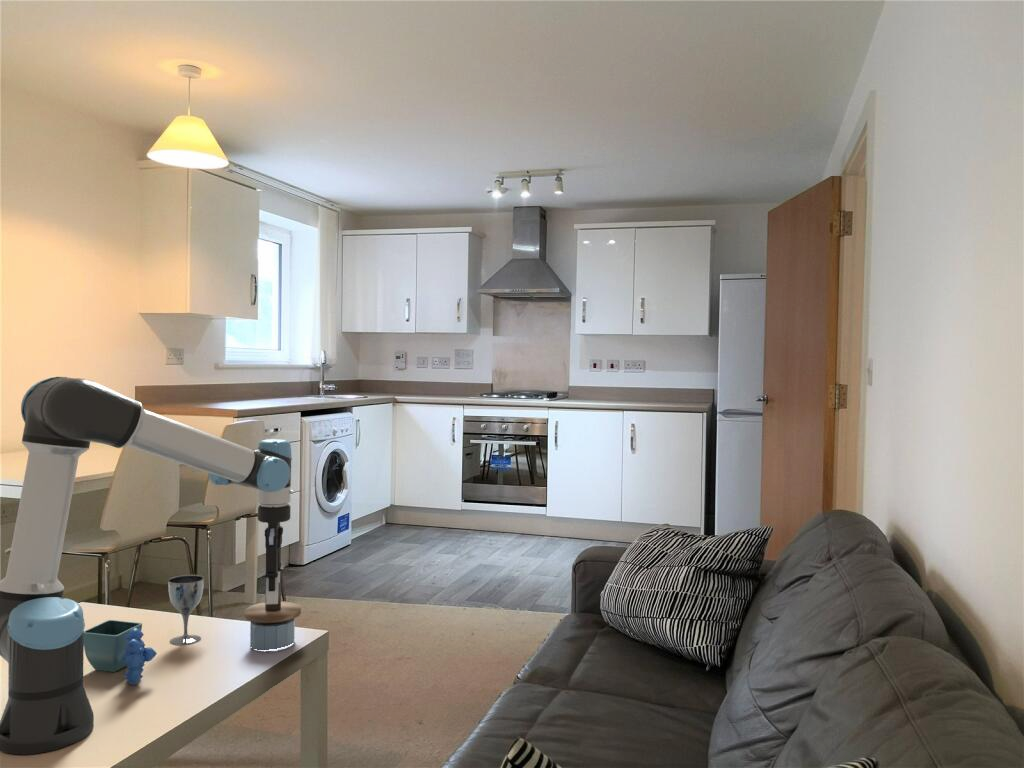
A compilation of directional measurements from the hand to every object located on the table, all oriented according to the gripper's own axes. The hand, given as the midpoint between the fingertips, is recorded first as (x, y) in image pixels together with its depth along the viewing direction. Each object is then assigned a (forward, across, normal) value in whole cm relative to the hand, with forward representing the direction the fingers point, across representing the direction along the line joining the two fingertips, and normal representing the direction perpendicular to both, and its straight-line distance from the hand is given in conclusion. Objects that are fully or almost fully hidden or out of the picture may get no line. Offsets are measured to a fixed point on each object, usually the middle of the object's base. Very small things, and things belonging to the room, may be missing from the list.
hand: (273, 600), depth 190 cm
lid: (+3, 0, 0) cm, 3 cm away
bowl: (+11, 0, 0) cm, 11 cm away
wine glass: (+11, +6, +21) cm, 24 cm away
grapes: (+11, -20, +25) cm, 34 cm away
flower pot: (+11, -10, +33) cm, 36 cm away
